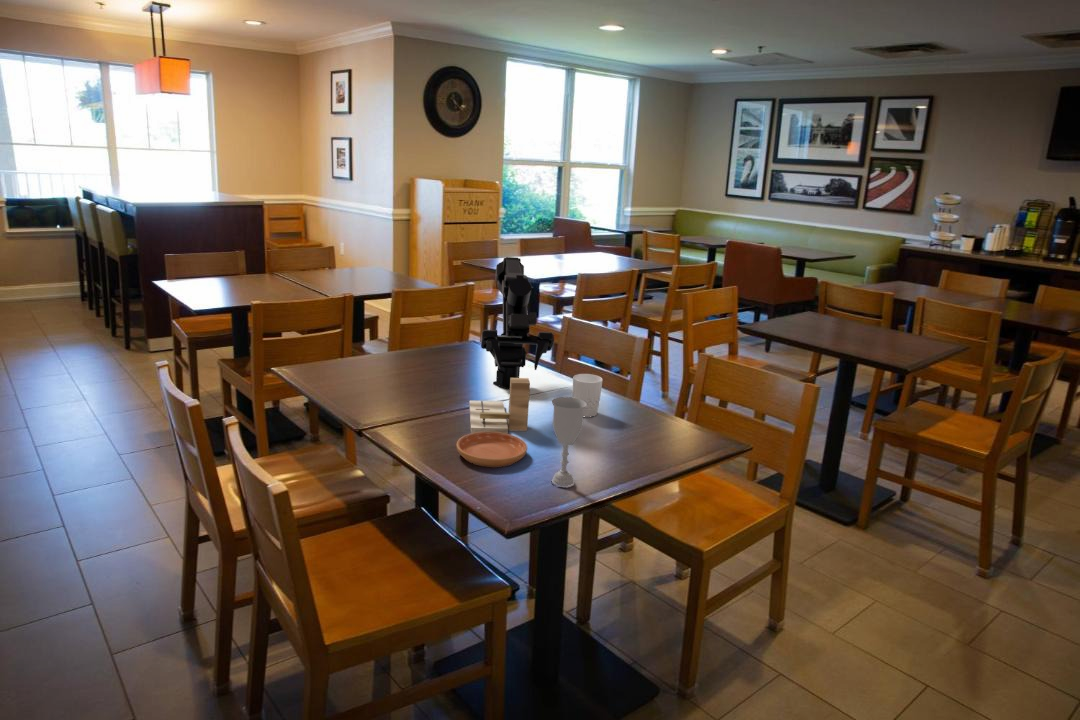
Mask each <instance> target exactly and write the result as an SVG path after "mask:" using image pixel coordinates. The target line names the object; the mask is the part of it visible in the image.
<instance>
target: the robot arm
mask: <svg viewBox="0 0 1080 720" xmlns="http://www.w3.org/2000/svg"><path fill="white" fill-rule="evenodd" d="M521 262H522V261H521V257H520V258H519V257H513V256H506V257H503V260H502V261H500V262H498V263H497V264H496V265H495V266H496V267H495V268H496V269H495V282H497V290H498V291H499V292H500V293H501V295H502V333H501V334H498V329H483V330H482V331H481V339H480V348H481V349H483V350H485V351H486V352H489V353H490V355H491V356H492V357H493V359H494V366H495V368H496V367H497V370H496V375H495V376H496V377H495V378H496V379H495V380H496V381H495V380H494V381H493V383H492V384H493V385H496V386H498V387H500V388H503V389H507V390H510V378H520V372H521V370H520V369H521V368H524V367H525V366H526V361H527V355H528V352H527V350H526V347H525V346H524V345H536V348H535V355H534V367H533V368H534V371H537V370H538V369H537V368H538V367H539V366H538V365H539V362H540V359H542V358H541V357H542V356H543V354H547V352H550V351H551V350H552V349H553V345H554V342H555V334H554V333H553V332H552V331H538V332H537V333H538V334H537V336H529V334H530V326H533V327H536V325H537V312H531V311H530V312H529V313H528V304H529V302H530V296H531V295H532V293H534V290H535V289H534V286H533V285H532V283H531V281H529V278H528V276H527V275H526V274H525V266H524V265H523V264H522V263H521Z"/></svg>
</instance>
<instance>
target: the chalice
mask: <svg viewBox="0 0 1080 720" xmlns="http://www.w3.org/2000/svg"><path fill="white" fill-rule="evenodd" d="M551 403H552V406H553V415H552V417H553V418H552V427H553V430H554V434H555V436H556V438H557V441H558V443H559V445H562V447H563V448H562V452H561V453H560V454H561V455H562V458H561V460H559V462H560V463H561V468H560V469H559V470H557V471H556V472H555V473H554V475H553V477H552V479H551V481H552V482H553V483H554V484H556V485H560V486H568V485H571V484H573V481H574V478H573V475H572V473H571V472H570V471H569V470H567V465H568V464H569V463H570V462H569V461H568V456H569V455H570V453H569V446H572V445H573V444H574V443H575V441H576V440H577V438H578V436H579V435H580V432H581V430H582V428H583V423H584V422H583V420H584V417H583V411H584V408H585V407H586V405H587V404H586V402H585V401H583V400H580V399H577V398H573V396H572V397H571V396H559V397H558V396H557V397H555V398H553V399H551Z"/></svg>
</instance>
